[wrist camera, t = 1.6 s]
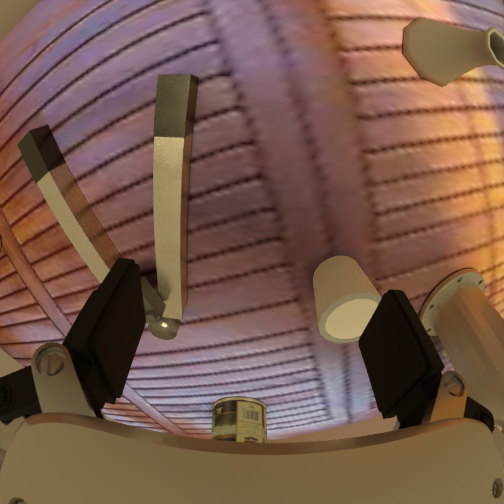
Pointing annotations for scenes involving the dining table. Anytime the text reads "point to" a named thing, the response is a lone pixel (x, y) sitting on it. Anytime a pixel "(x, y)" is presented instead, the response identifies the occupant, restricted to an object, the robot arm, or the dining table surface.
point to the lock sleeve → (151, 302)
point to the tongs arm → (172, 186)
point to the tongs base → (76, 212)
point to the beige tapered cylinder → (343, 299)
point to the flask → (450, 49)
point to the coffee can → (239, 420)
